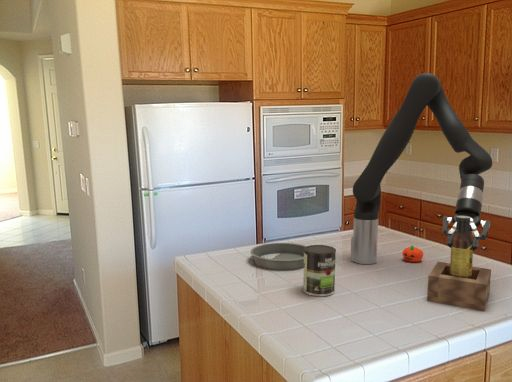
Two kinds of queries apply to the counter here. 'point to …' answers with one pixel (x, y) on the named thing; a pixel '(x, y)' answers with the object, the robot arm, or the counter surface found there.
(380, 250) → the counter surface
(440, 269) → the bottle block
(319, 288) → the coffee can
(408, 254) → the pumpkin
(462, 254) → the sauce bottle
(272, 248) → the cake pan
